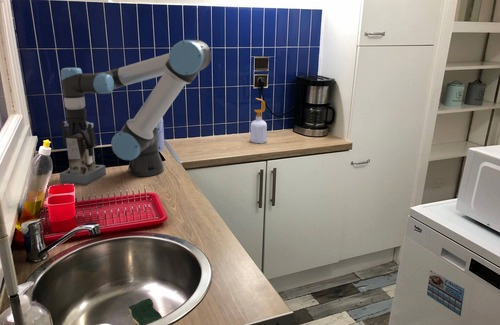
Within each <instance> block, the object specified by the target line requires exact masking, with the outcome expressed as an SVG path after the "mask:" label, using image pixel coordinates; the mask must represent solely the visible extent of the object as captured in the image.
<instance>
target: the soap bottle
mask: <svg viewBox="0 0 500 325" xmlns="http://www.w3.org/2000/svg"><path fill="white" fill-rule="evenodd" d="M255 100H258V101H261V109H254V112H256V115H255V119H254V120H252V121H251V123H250V142H251V143H253V144H265V143H266V142H267V141H268V140H267V136H268V134H267V133H268V132H267V130H268V124H267V122H266V121H265V120H264V119H263V116H262V115H261V113H263V112H265V111H266V101H265V100H263V99H262V98H257V97H255Z"/></svg>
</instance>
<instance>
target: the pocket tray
mask: <svg viewBox="0 0 500 325" xmlns="http://www.w3.org/2000/svg"><path fill="white" fill-rule="evenodd" d="M95 167H96V169H94V170H92V171H91V172H89V173H87V174H85V175H79V174H70V167H68V168H67V169H66V170H63V171H62V172H60V173H59V181H60V183H61V182H62V183H61V184H66V183H74V184H73V185H78V186H79V185H80V186H89V185H91V184H92V183H94V182H95V181H97V180H100V179H101V178H102V177H104V176H106V175H107V169H106V165H104V164H95Z"/></svg>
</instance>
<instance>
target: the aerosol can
mask: <svg viewBox="0 0 500 325" xmlns="http://www.w3.org/2000/svg"><path fill="white" fill-rule="evenodd" d="M163 118H164V117H162V118H161V120H160V121H159V123H158V124H157V127H158V147H159V153H160V151H161V152H164V151H166V148H165V134H164V133H165V132H164V119H163ZM163 150H164V151H163Z"/></svg>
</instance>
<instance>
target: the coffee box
mask: <svg viewBox="0 0 500 325" xmlns="http://www.w3.org/2000/svg"><path fill="white" fill-rule="evenodd" d="M88 135H89V134H88ZM66 142H67V146H66V148H67V149H66V150H67V157H68V158H67V159H68V164H69V168H70V174H79V175H85V174H87V173H89V172H91V171H92V170H94V169H96V167H95V165H96V161H95V160H96V159H95V151H94V148H93V156H92V160H93V163H91V164H89V165H88V164H87V157H86V148H87V146H86V144H85V139H84V137H82V134H81V133H80V132H79V133H76V135H74V136H70V137H67V138H66Z"/></svg>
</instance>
